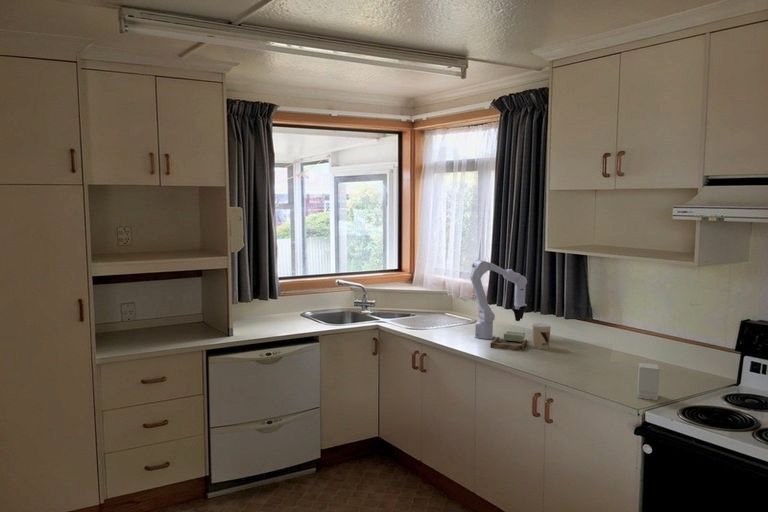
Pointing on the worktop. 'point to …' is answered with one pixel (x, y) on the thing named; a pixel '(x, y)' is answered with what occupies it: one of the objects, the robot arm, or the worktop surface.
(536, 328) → the coffee cup
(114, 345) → the worktop surface
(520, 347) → the wooden tray
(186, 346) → the worktop surface
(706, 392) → the worktop surface
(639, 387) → the supplement box
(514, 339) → the green block
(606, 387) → the worktop surface
